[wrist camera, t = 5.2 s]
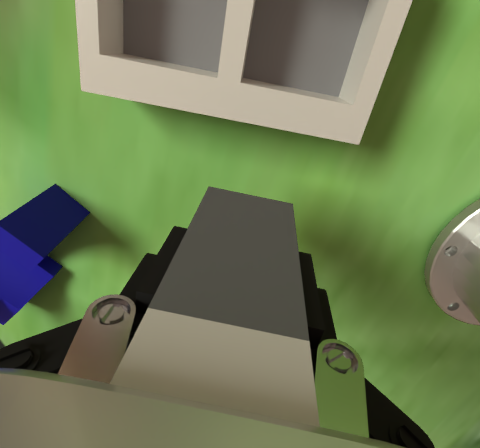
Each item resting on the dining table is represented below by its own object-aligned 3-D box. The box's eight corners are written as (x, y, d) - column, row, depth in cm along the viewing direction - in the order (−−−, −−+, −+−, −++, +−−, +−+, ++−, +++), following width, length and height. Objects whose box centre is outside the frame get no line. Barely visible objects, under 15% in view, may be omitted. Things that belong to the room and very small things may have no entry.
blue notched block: (26, 299, 28) (-26, 356, 23) (-21, 268, 26) (-89, 321, 21) (107, 224, 24) (65, 274, 19) (57, 182, 22) (-4, 223, 17)
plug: (292, 203, 15) (319, 427, 6) (273, 271, 16) (271, 514, 8) (208, 186, 15) (109, 383, 6) (199, 255, 16) (113, 481, 8)
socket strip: (405, -70, 15) (455, -109, 11) (340, 127, 19) (360, 146, 16) (109, -138, 14) (58, -205, 10) (113, 83, 19) (79, 91, 15)
